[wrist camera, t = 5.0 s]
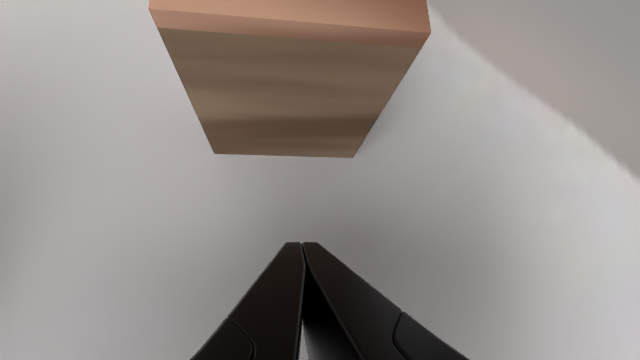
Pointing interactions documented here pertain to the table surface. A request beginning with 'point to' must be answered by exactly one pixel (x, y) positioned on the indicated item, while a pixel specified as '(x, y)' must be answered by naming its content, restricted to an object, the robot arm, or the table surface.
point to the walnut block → (290, 68)
